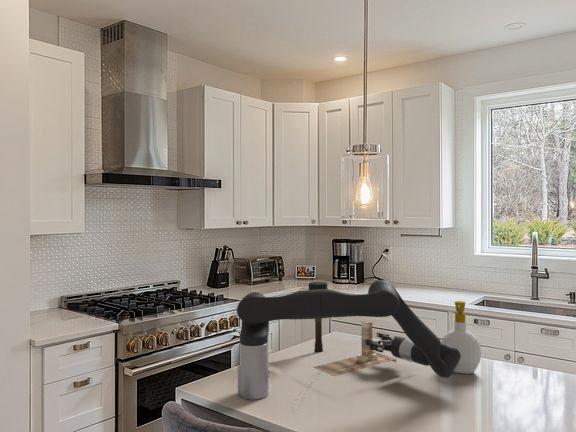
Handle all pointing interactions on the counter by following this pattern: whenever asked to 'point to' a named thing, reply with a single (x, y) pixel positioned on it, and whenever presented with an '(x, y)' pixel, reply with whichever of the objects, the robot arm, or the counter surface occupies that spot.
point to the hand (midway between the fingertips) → (374, 339)
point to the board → (351, 364)
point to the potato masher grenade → (318, 321)
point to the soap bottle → (463, 342)
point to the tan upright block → (366, 351)
